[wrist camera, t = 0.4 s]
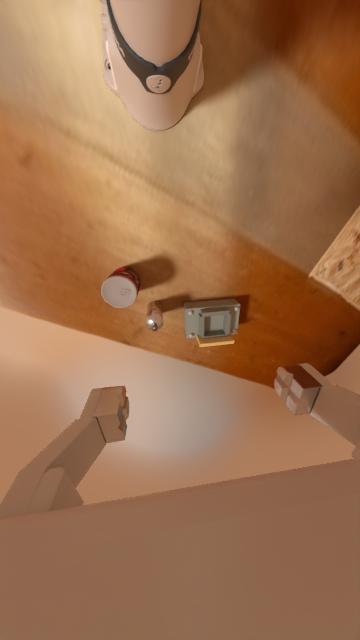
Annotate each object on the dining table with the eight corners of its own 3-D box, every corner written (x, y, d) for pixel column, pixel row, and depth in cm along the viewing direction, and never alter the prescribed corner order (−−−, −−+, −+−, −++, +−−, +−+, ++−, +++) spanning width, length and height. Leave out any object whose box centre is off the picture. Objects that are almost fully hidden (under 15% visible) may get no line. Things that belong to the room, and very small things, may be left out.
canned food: (145, 288, 52) (142, 301, 43) (119, 297, 53) (111, 313, 43) (133, 262, 49) (127, 270, 39) (106, 272, 49) (94, 283, 40)
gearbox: (183, 302, 56) (188, 316, 47) (233, 298, 57) (248, 311, 48) (184, 330, 60) (189, 348, 51) (231, 326, 62) (243, 342, 53)
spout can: (146, 301, 54) (144, 318, 44) (161, 300, 55) (162, 316, 45) (148, 315, 56) (146, 333, 46) (162, 313, 57) (163, 332, 47)
